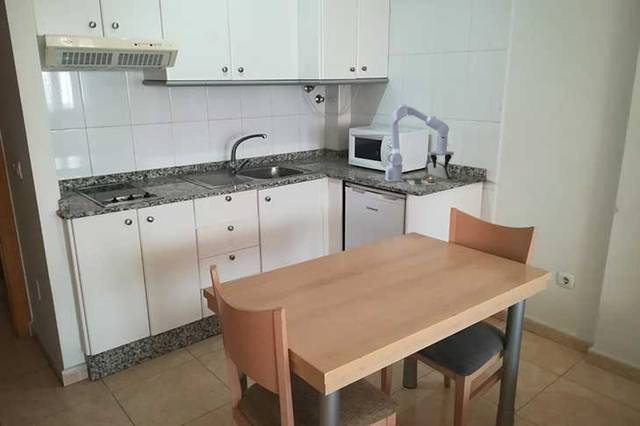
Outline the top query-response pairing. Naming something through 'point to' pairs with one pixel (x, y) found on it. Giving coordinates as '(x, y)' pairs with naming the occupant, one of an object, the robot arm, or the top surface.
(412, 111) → the robot arm
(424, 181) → the base board
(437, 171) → the grey piece
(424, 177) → the link
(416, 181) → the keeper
